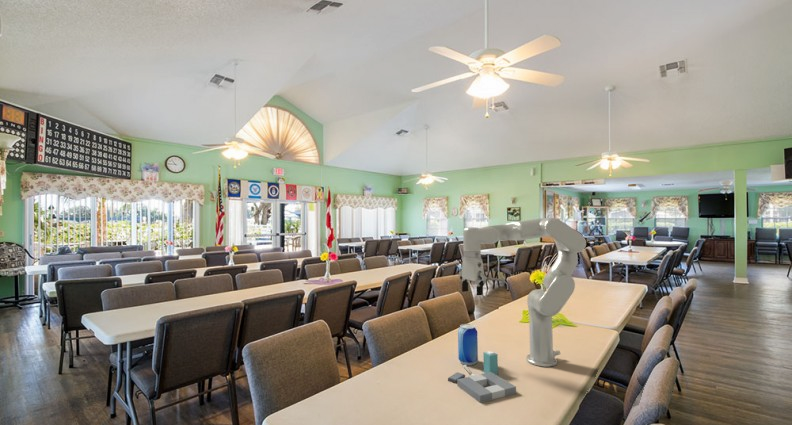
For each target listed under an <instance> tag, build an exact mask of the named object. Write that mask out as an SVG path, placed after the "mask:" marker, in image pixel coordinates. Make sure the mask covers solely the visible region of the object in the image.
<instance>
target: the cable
mask: <svg viewBox="0 0 792 425" xmlns="http://www.w3.org/2000/svg"><path fill="white" fill-rule="evenodd" d="M462 368H463V369H465V370H466V371H467V373H468V374H469V375H470V376H475V375H476V374H474V373H472V371H471V370H470V369H469V368H468V365H464V364H462Z"/></svg>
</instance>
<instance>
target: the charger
mask: <svg viewBox="0 0 792 425" xmlns="http://www.w3.org/2000/svg"><path fill="white" fill-rule="evenodd" d="M498 366H499V361H498V353H496V352H494V351H492V350H488V351H484V352H483V373H488V372H492V373H494V374H496V375H498V374H499V373H498V372H499V370H498V369H499V367H498Z"/></svg>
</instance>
